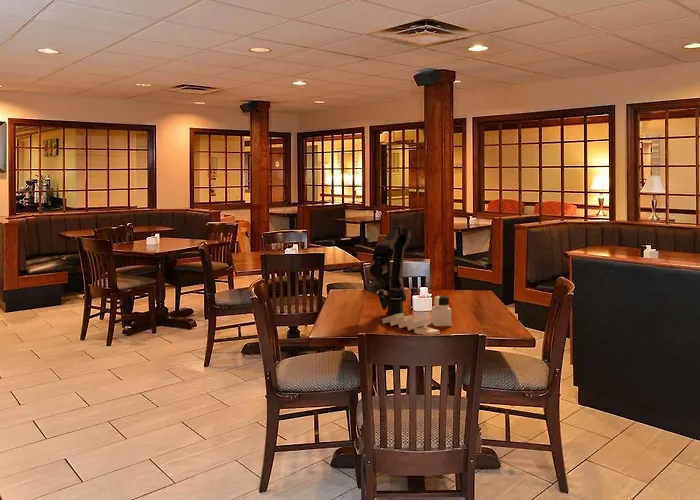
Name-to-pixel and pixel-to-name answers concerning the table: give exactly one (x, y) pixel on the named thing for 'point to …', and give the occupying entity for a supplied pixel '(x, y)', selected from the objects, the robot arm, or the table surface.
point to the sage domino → (392, 318)
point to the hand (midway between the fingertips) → (384, 309)
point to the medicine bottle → (441, 311)
